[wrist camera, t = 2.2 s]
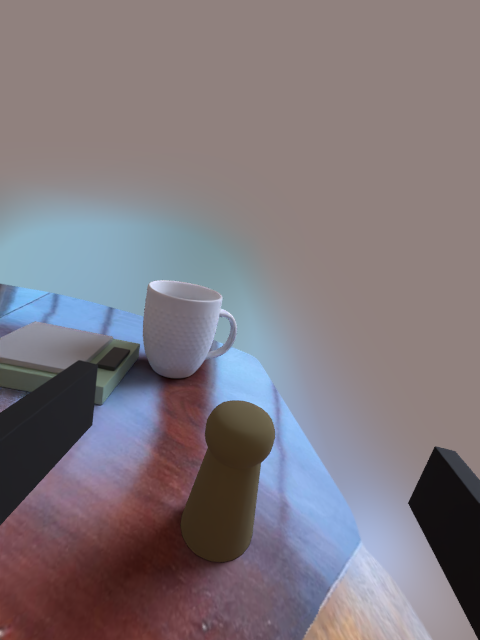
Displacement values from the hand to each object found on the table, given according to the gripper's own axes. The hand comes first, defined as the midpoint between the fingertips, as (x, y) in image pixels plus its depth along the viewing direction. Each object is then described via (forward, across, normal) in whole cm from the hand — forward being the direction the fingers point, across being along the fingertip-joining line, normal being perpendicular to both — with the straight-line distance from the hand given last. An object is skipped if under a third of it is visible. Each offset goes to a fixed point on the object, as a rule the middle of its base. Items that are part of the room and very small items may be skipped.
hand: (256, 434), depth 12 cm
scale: (+28, -26, -16) cm, 41 cm away
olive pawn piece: (+10, 0, -16) cm, 19 cm away
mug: (+35, -10, -16) cm, 40 cm away
